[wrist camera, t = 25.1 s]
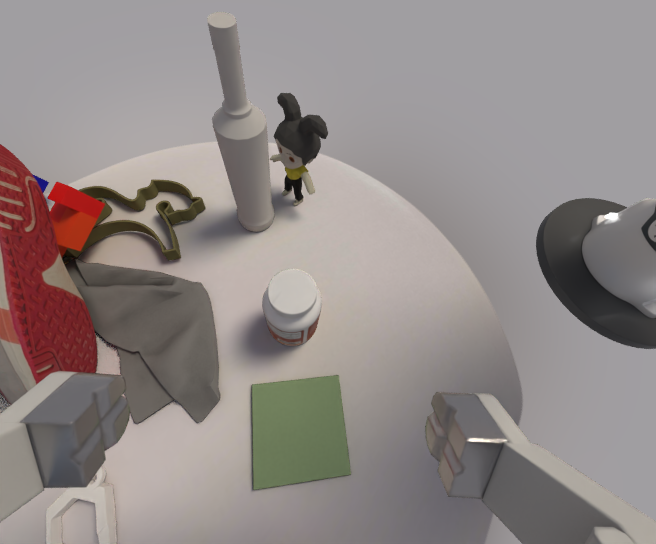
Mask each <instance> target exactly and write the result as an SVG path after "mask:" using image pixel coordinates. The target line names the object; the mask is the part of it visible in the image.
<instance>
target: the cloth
mask: <svg viewBox="0 0 656 544" xmlns="http://www.w3.org/2000/svg"><path fill="white" fill-rule="evenodd" d="M65 267H66V269H67V271H68V273H69V275H70V277H71V279H72V281H73V283H74V284H75V286H76V288H77V289H78V291H79V293H80V295H81V296H82V298H83V300H84V302H85V304H86V306H87V309H88V311H89V314H90V317H91V320H92V323H93V327H94V330H95V331H96V332H97V333H98V334H99V335H101V336H102V337H103V338H104V339H105V340H106V341H107V342H109V343H111V344H114V345H116V347H117V351H118V355H119V356H120V367H121V376H123V377H124V378H125V381H126V386H127V389H126V390H125V396H126V399H127V401H128V402H129V407H130V412H131V414H132V417H133V420H134V422H135V423H140V422H141V421H143V420H144V419H146V418H147V417H149V416H150V415H152V414H153V413H155V412H156V411H158V410H159V409H161V408H162V407H164V406H165V405H167V404H168V403H170V402H171V401H173V400H177V401H178V402H179V403H180V404H181V405H182V406H183V407H184V408H185V409H186V410H187V411H188V413H189V414H190V415H191V416H192V417H193V418H194V420H195V421H196V422H197V423H198V422H202V421H203V420H204V418H205V417H206V416H207V415H208V414H209V412H210V411H211V410H212V409H213V408H214V407H215V405H216V404H217V403H218V402H219V400H220V392H219V388H218V377H219V364H218V351H217V339H216V332H215V325H214V318H213V312H212V307H211V302H210V298H209V296H208V293H207V291H206V290H205V288H204V287H203V285H202V284H201V283H197V282H191V281H188V280H185V279H182V278H178V277H175V276H171V275H168V274H164V273H161V272H154V271H147V270H139V269H132V268H124V267H115V266H109V265H104V264H99V263H84V262H82V261H80V260H77V259H73V260H72V261H70V262H69V263H67V264H66V265H65Z"/></svg>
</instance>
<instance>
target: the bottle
mask: <svg viewBox="0 0 656 544" xmlns="http://www.w3.org/2000/svg"><path fill="white" fill-rule="evenodd" d="M207 21H208V26H209V31H210V35H211V40H212V45H213V49H214V51H215V55H216V60H217V65H218V69H219V74H220V79H221V84H222V89H223V94H224V98H225V100H224V101H223V103H222V107H221V108H220V109H218V110H217V111H216V112H215V114H214V116H213V118H212V121H213V128H214V131H215V134H216V138H217V141H218V145H219V148H220V151H221V155H222V158H223V161H224V165H225V168H226V171H227V175H228V178H229V181H230V185H231V188H232V192H233V195H234V198H235V202H236V205H237V215H238V219H239V221H240V222H241V224H242V225H243V227H245V228H246V229H248V230H249V231H254V232H258V231H263V230H265V229H267V228H268V227H269V226H270V225H271V224H272V222H273V219H274V208H273V205H272V201H271V185H270V169H269V154H268V139H267V123H266V117H265V115H264V113H263V112H262V111H261V110H260V109H259V108H257V107H255V106H253V105H251V102H250V101H249V100H248V99H247V98H246V91H245V84H244V78H243V71H242V64H241V57H240V45H239V38H238V31H237V24H236V18H235V17H234V16H233V15H231V14H229V13H225V12H216V13H213V14H211V15H209V16H208V18H207Z"/></svg>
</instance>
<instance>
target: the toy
mask: <svg viewBox="0 0 656 544" xmlns="http://www.w3.org/2000/svg"><path fill="white" fill-rule="evenodd" d="M277 99H278V103H279V104H280V106H282V108H283V110H284V114H285V120H284V121H282V122H281V123H280V124H279V126H278V128H277V130H276V132H275V134H274V138H275V139H276V143H277V146H278V149H279V153H280V154H278V155H273V156H272V157H271V158H270V160H273V162H276V161H281V162H282V163H283V164H284V166H285V171H286V173H287V175H286V177H285V188H284V189H285V190H284V191H283V192H282V195H286V194H287V193H289V192H290V191H292V186H293V188H294V194H295V199H296V200H295V202H294V203H293V204H294V206H297V205H298V204H299V203H301V202H302V201H303V195H302V193H301V188H302V179H303V181H304V183H305V186H306V189H307V191H308V193H309V194H313V193H315V189H314V186H313V183H312V180H311V177H310V175H309V173H308V170H307V169H306V167H305V165H306V164H307V163H310V162H311V161H312V160H313V159H314V158H316V156H317V154H318V152H319V150H320V147H321V143H320V138H319V136H320V137H321V138H323V139H326V137H327V135H328V131H327V127H326V123H325V122H324V121H323V119H322V118H321V117H320V116H317V115H307V116H305V117H304V118H302V117H301V112H300V107H299V105H298V102H297V100H296V99H295V96H293V95H292V94H291V93H281V94H280V95H279V96H278V97H277Z"/></svg>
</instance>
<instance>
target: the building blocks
mask: <svg viewBox="0 0 656 544" xmlns="http://www.w3.org/2000/svg"><path fill="white" fill-rule="evenodd" d="M32 175H33V174H32ZM33 177H34V178H35V179H36V181H37V183H38V185H39V186H40V188H41V190H42V193H43V192H44V191H45V189H46V187H47V185H48V183H49V182H47V181H45V180H43V179H41V178H39V177H37V176H35V175H33ZM48 199H50V200H53V201H55V204H54V205H53V207H52V209H51V211H50V216H51V219H52V223H53V227H54V231H55V235H56V239H57V244H58V248H59V252H60V255H61V258H62V257H63V255H64V253H65V252H66V250H67V248H71V249H74V250H78V251H81V249H82V247H83V246H84V244H85V242H86V240H87V238H88V236H89V234H90V232H91V231H92V229H93V227H94V225H95V223H96V221H97V219H98V217H99V215H100V213H101V211H102V209H103V208H104V206H105V203H103V202H101V201H99V200H96V199H94V198H92V197H90V196H88V195H86V194H84V193H82V192H80V191H78V190H76V189H74V188H72V187H70V186H67V185H65V184H62V183H59V182H56V184H55V185H54V187H53V189H52V191H51V192H50V194H49V196H48Z"/></svg>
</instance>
